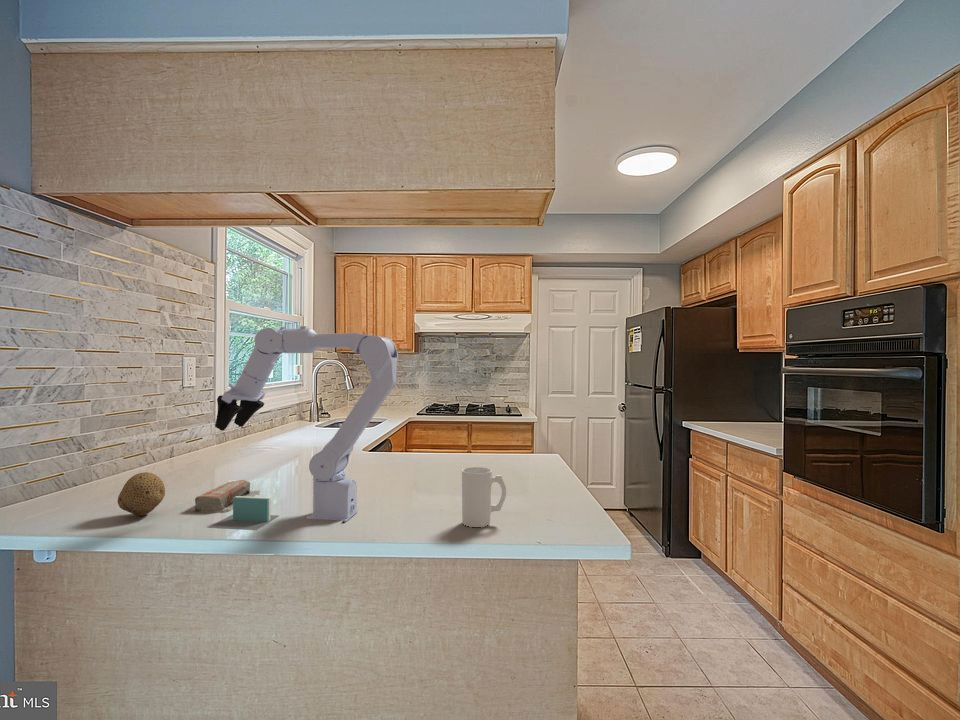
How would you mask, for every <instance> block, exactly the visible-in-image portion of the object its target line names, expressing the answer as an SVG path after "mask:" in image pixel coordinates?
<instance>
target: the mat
mask: <svg viewBox="0 0 960 720" xmlns="http://www.w3.org/2000/svg"><path fill="white" fill-rule="evenodd" d="M279 517H280V515H277V514H276V515H275V514H270V521H268V522H259V521H238V520H233V514H231V515H229V516H227V517H225V518H223V519H221V520H219V521H218V522H217V521H216V522H215V523H214V524H213V523H212V524H211V525H210V526H207V528H209V529H223V530H224V529H226V530H227V529H229V530H247V531H248V530H249V531H257V530H259V529H261V528H263V527H264V526H265V525H267V524H269V523H270V522H272V521H274V520H275V519H277V518H279Z"/></svg>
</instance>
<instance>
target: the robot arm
mask: <svg viewBox="0 0 960 720" xmlns="http://www.w3.org/2000/svg"><path fill="white" fill-rule="evenodd" d="M254 344H255V346H254V348H253V350H252V352H251V353H250V355H249V357H248V360H247V361H246V364H245V366H243V370H242V371H241V373H240V375H239V377H238V379H237V381H236V383H235V384H234V383H232V384H230V385H229V388H230V389H229V390H227V391H224V393H223V394H221V395H218V397H217V400H216V402H217V414H216V419H215V424H214V428H216V429H218V430H220V431H225V430H226V428H228V426H229V425H230V424H231V421H232V420H233V418H234V417H235V418H234V422H233V423H234V424H235V425H237V426H239V427H240V428H242V427H244V426H245V425H246V423H248V421H249V420H250V419H251V417H253V415H254V414H255V413H257V412H258V411H259V410H260V409H261V408H263V407H264V405H265V403H264V402H263V399H264V398H265V396H266V392H265V391H263V389H264V387H265V385H266V383H267V381H268V379H269V378H270V375H271V373H272V372H273V369H274V367H275V365H276V363H277V361H278V359H279V357H280V355H282V354H312V353H314V352H315V351H316V350H317V349H318V348H337V349H338V348H340V349H341V348H342V349H349V350H350V351H352V352H353V353H354V354H359V355H360V357H361V359H362V361H363V362H364V364H365V365H366V367H367V369H368V372H369V374H370V378H371V381H370V383H369V385H368V386H367V387H366V389H364V392H363V393H362V394H361V396H360V397H359V399H358V400H357V401H356V403H355V405H354V406H353V408H352V409H351V410H350V412H349V413H348V415H347V416H346V418H345V420H344V421H343V422H342V424H341V425H340V427H339V428H338V430H337V431H336V433H335V434H334V435H333V436H332V438H331V439H330V440H329V441H328V442H327V443H326V444H325V445H324V447H323V448H322V449H321V451H319V452H317V453H315V454H314V455H313V456H312V457H311V458H310V461H309V464H308V467H309V468H308V469H309V473H310V474H311V476H312V477H313V479H312V481H313V482H312V513H311V514H310V515H308V516H306V517H305V519H309V520H327V521H328V520H330V521H332V520H334V521H342V523H344V522H347V521H348V520H350V519H351V518H352V517H353V516H354V515H356V514H357V513H358V509H357V503H358V502H357V501H358V500H357V499H358V497H357V495H358V494H357V491H358V490H357V487H358V486H357V482H356V480H355V479H354V478H348V477H346V472H345V469H346V468H347V467H348V464H349V461H350V455H351V453H352V452H353V450H354V446H355V444H356V443H357V441H358V440H359V438H360V437H361V435H362V434H363V433H364V431H365V429H366V428H367V427H368V425H369V424H370V422H371V420H372V419H373V418H374V416H375V414H376V413H377V411H378V410H379V409H380V407H381V406H382V405H383V403H384V401H385V400H386V399H387V397H388V395H389V394H390V393H391V391H392V389H393V388H394V387H395V385H396V382H397V367H398V365H397V364H398V359H399V354H398V353H399V352H398V349H397V347H396V344H395V342H394V341H393V340H392V339H390V338H389V337H387V336H378V335H375V334H374V335H372V334H371V335H370V334H365V333H357V332H342V333H340V332H339V333H338V332H337V333H336V332H335V333H317V332H316V331H315V330H314V329H313V328H309V327H308V326H307V325H300V326H299V328H287V327H286V326H280V327H279V329H277V328H272V327H266V328H262V329H260V330H259V331H257V333H256V334H255V336H254ZM238 401H240V403H239V405H238Z"/></svg>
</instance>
